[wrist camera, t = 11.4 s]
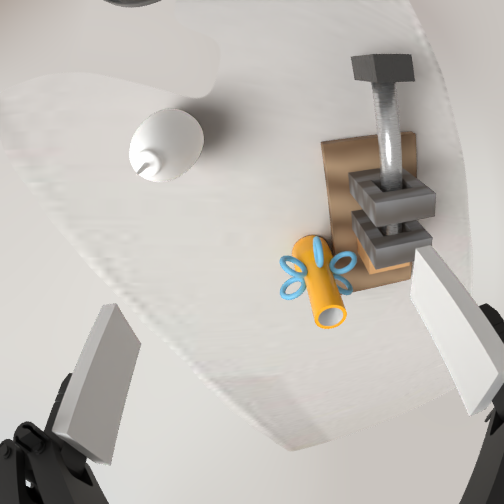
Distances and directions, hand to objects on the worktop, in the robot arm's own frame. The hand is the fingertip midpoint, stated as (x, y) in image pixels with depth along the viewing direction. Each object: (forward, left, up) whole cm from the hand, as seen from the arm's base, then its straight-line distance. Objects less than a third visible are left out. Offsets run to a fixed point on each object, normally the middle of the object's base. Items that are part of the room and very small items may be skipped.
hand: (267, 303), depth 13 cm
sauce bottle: (-3, -9, -32) cm, 33 cm away
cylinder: (+19, +5, -32) cm, 37 cm away
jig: (+15, +16, -32) cm, 39 cm away
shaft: (+2, +16, -28) cm, 32 cm away
